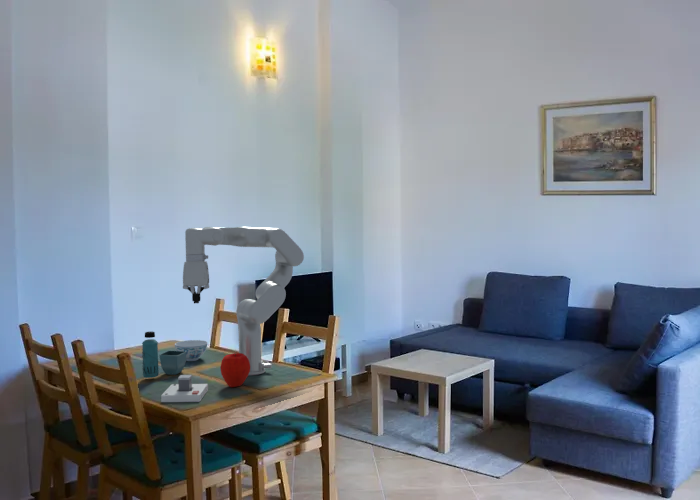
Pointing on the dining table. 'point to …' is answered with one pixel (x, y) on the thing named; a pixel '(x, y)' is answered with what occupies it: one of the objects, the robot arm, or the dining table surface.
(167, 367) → the flower pot
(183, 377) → the plug
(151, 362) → the beverage bottle
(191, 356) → the chinaware
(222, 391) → the dining table surface
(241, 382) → the apple
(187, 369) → the dining table surface
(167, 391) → the socket plate
